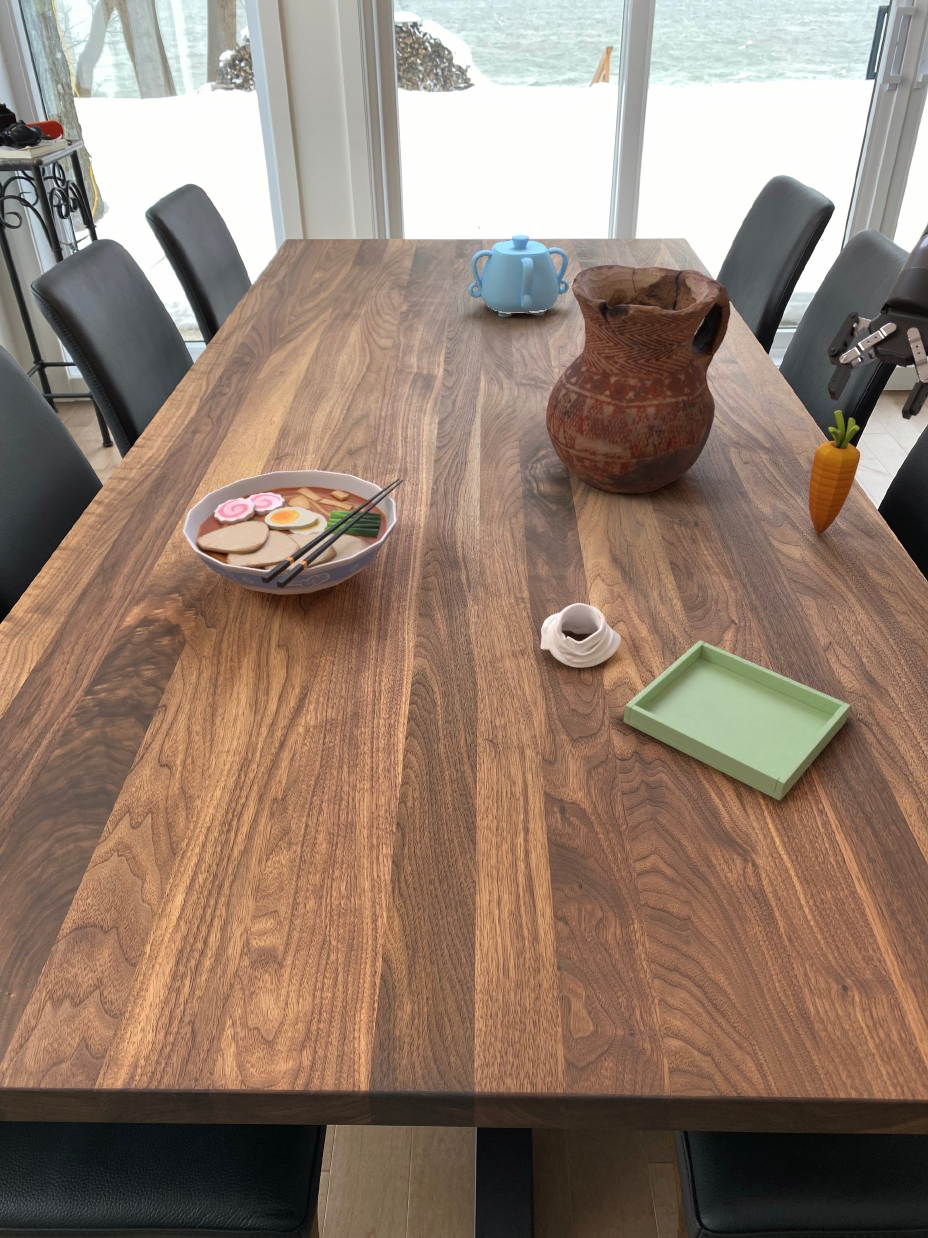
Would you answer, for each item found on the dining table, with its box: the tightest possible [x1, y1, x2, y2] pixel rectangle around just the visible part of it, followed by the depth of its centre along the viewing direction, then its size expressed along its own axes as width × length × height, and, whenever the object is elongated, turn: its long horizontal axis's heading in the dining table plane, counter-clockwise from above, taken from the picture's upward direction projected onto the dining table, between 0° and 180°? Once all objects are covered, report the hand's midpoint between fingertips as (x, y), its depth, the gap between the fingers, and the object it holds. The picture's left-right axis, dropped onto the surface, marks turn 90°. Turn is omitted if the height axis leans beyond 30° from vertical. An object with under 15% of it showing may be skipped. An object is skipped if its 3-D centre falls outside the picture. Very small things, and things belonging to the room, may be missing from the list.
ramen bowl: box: [181, 469, 404, 596], centre depth 106 cm, size 25×23×8 cm
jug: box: [545, 264, 731, 495], centre depth 123 cm, size 22×21×25 cm
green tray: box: [622, 639, 851, 802], centre depth 87 cm, size 15×13×2 cm
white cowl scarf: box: [540, 602, 622, 668], centre depth 96 cm, size 8×7×5 cm
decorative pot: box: [468, 234, 570, 318], centre depth 186 cm, size 16×16×14 cm
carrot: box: [808, 409, 861, 534], centre depth 112 cm, size 5×5×15 cm
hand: (868, 406), depth 113 cm, fingers open, 8 cm apart
